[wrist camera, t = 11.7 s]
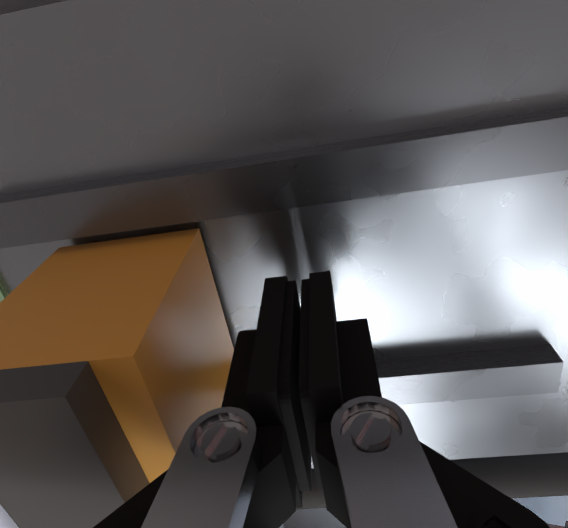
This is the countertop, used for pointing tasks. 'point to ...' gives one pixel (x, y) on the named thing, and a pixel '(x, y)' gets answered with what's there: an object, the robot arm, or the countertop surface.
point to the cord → (496, 476)
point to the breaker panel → (322, 177)
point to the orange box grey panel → (105, 374)
